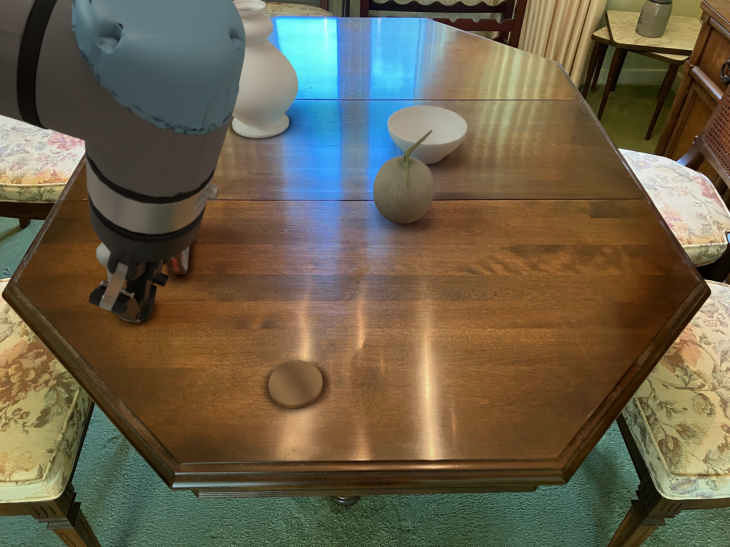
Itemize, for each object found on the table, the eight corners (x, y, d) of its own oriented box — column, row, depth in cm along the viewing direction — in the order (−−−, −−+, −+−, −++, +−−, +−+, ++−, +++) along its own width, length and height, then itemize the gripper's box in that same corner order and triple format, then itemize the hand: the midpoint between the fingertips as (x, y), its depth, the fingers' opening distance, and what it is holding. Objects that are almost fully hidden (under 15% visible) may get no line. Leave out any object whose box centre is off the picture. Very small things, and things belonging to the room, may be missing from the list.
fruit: (372, 238, 94) (374, 162, 84) (372, 198, 103) (374, 125, 93) (433, 239, 94) (443, 163, 84) (428, 199, 103) (436, 127, 93)
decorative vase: (296, 145, 116) (286, 22, 99) (212, 143, 116) (188, 20, 99) (304, 106, 129) (297, -9, 112) (229, 104, 129) (210, -11, 112)
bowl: (396, 179, 108) (398, 147, 103) (378, 138, 119) (379, 108, 114) (473, 172, 110) (479, 140, 105) (449, 132, 121) (453, 102, 117)
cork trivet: (290, 418, 69) (290, 414, 68) (258, 383, 72) (257, 380, 72) (333, 387, 72) (333, 383, 71) (300, 355, 76) (300, 351, 75)
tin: (176, 227, 96) (164, 186, 90) (194, 225, 96) (184, 185, 90) (169, 287, 85) (156, 245, 79) (190, 285, 85) (179, 243, 80)
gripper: (160, 292, 34) (143, 383, 54) (238, 146, 41) (197, 274, 61) (39, 242, 33) (66, 354, 52) (140, 99, 40) (131, 245, 59)
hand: (137, 311), depth 57 cm, fingers closed
